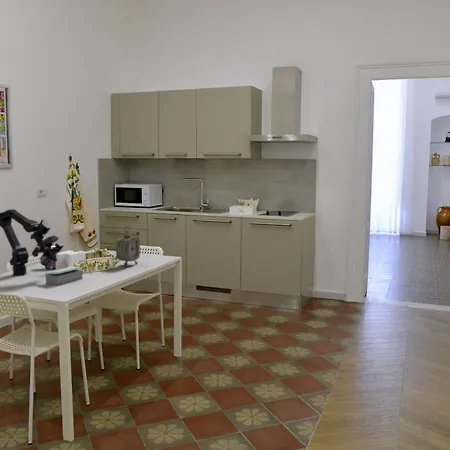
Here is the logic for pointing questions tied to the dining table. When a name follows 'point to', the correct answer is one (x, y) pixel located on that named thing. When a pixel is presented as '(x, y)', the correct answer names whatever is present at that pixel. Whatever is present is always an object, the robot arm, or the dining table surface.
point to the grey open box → (63, 277)
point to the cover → (63, 270)
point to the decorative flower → (48, 262)
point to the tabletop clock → (128, 248)
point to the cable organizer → (68, 259)
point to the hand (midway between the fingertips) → (56, 261)
